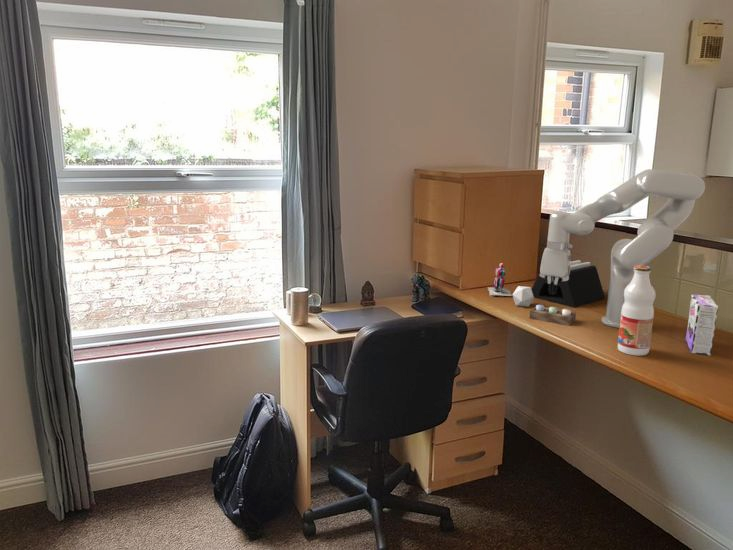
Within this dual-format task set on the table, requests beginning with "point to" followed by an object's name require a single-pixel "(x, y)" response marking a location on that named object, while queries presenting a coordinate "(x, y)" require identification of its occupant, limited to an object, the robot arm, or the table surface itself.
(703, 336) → the candy box
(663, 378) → the table surface
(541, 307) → the slate blue button
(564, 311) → the cream button
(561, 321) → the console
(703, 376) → the table surface
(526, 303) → the die
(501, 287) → the statue
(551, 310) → the sage button
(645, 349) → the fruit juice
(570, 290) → the device stand
